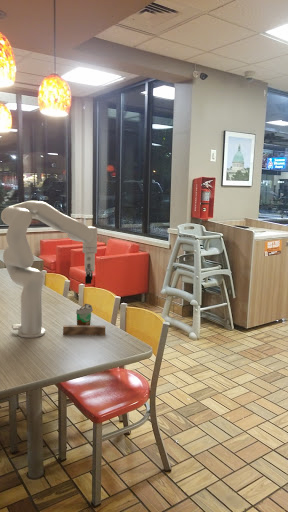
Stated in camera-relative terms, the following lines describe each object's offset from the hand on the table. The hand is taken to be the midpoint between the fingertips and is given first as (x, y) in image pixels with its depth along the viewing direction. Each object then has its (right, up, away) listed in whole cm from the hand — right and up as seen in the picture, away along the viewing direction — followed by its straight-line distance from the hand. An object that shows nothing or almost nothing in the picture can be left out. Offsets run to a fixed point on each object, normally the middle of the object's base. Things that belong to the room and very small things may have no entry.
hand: (88, 281), depth 210 cm
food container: (0, -22, -10) cm, 24 cm away
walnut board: (+1, -24, -22) cm, 32 cm away
